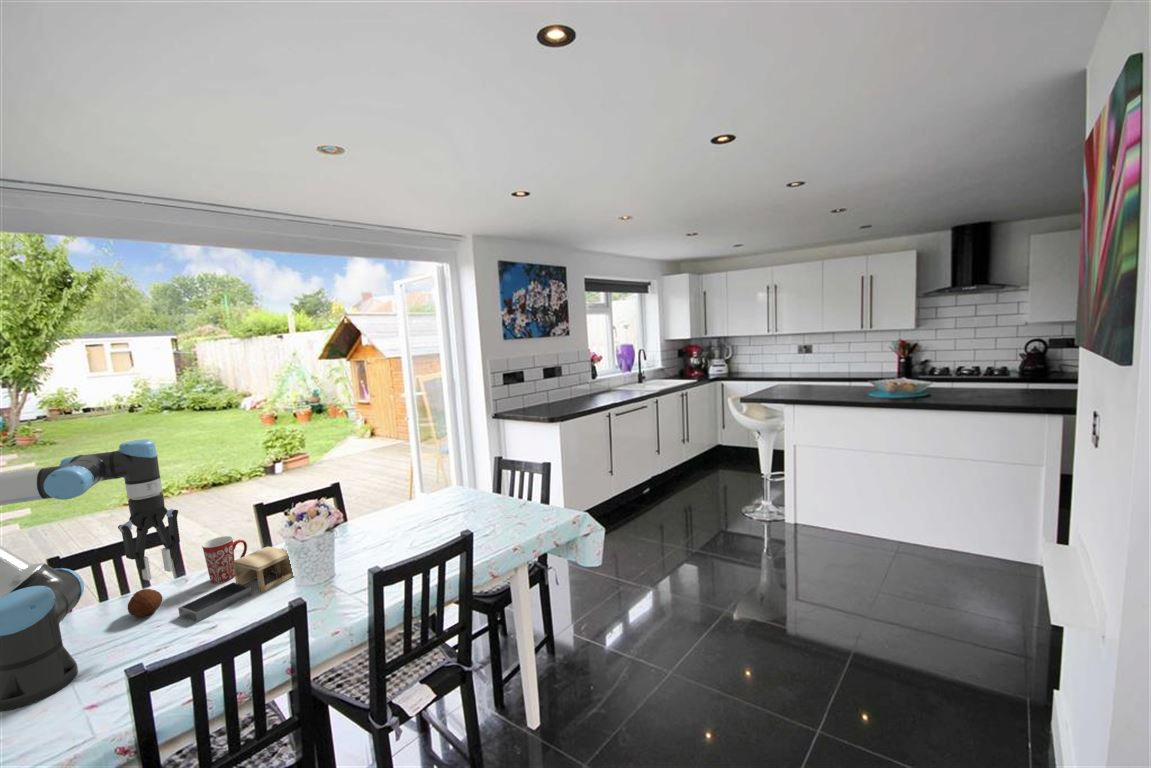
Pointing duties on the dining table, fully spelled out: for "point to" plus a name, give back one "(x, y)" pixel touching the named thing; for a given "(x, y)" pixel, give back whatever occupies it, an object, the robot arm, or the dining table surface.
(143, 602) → the potato
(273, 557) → the shelf
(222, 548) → the mug
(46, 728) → the dining table surface
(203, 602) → the tray
